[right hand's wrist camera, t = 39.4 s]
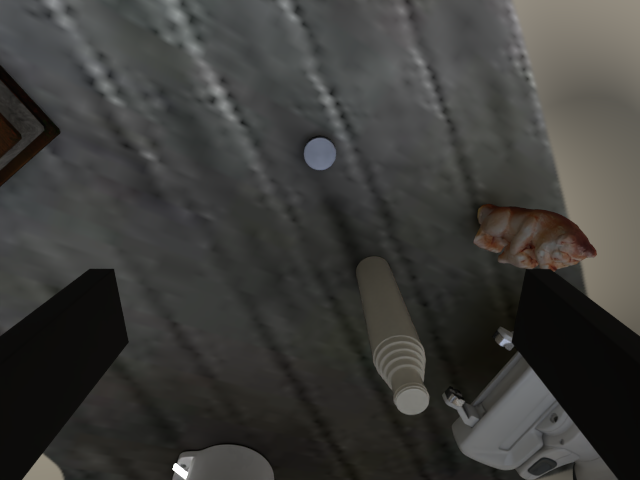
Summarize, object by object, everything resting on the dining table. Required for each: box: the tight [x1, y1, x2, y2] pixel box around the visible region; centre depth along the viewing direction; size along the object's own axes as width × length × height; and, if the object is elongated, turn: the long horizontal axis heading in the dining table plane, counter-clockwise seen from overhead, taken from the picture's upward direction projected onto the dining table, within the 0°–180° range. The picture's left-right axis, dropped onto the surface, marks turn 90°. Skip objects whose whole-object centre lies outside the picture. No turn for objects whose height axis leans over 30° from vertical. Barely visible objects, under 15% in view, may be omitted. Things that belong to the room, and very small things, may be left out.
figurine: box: [474, 204, 597, 271], centre depth 43 cm, size 6×8×15 cm
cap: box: [304, 136, 336, 170], centre depth 47 cm, size 4×4×2 cm
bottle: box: [356, 256, 429, 415], centre depth 42 cm, size 5×5×24 cm
